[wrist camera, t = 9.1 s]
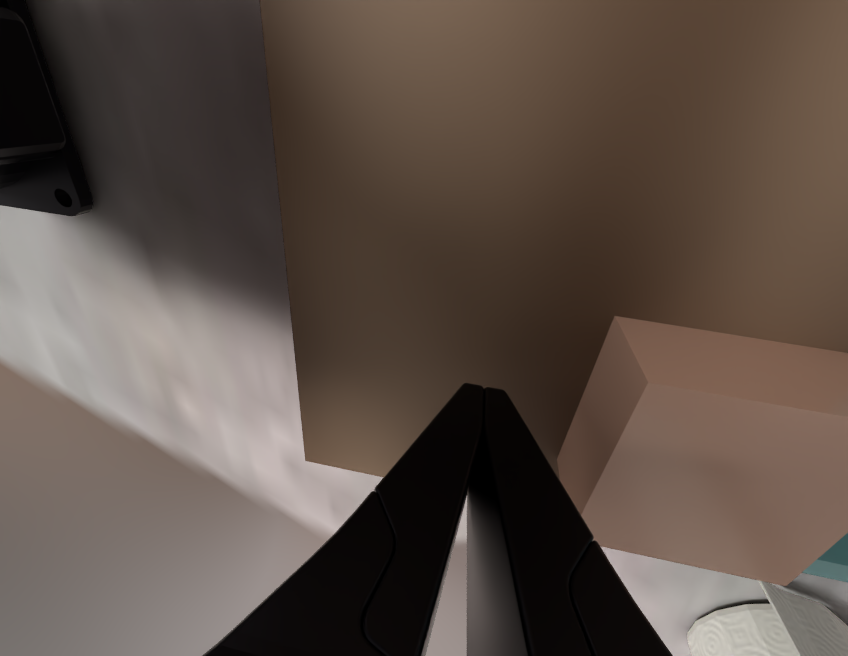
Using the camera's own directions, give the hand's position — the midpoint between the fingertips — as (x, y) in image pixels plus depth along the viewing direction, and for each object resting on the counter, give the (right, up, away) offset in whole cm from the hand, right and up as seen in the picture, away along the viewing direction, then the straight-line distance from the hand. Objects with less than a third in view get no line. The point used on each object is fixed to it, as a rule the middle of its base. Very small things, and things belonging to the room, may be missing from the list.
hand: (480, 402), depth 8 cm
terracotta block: (+4, 0, 0) cm, 4 cm away
